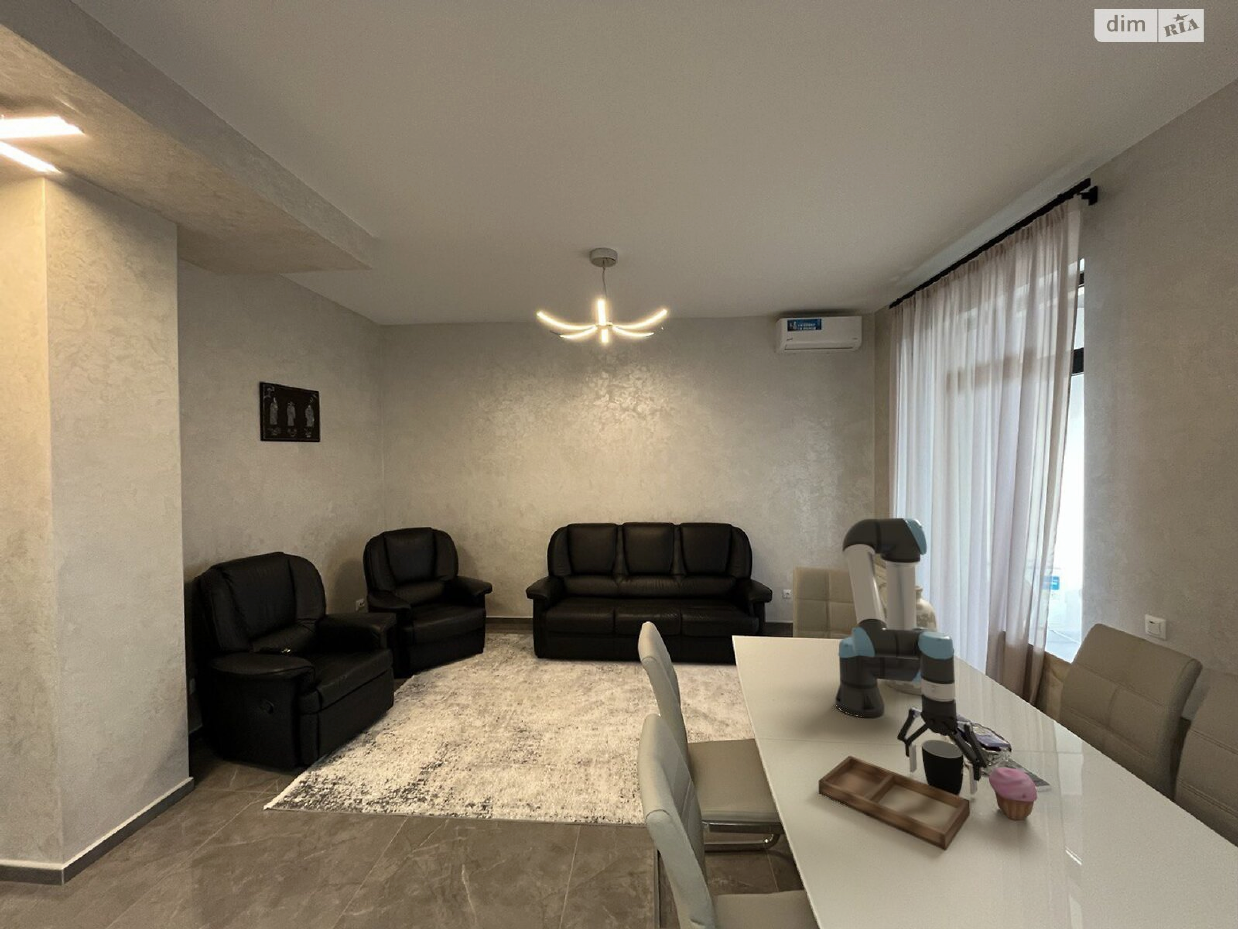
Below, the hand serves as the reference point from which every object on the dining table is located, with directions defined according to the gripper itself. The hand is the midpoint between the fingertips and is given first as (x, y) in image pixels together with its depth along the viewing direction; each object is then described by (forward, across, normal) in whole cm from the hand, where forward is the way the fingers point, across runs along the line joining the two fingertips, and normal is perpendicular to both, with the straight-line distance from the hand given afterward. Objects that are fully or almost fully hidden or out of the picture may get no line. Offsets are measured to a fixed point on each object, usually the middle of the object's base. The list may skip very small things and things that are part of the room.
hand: (942, 781), depth 133 cm
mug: (+1, 0, 0) cm, 1 cm away
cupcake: (+1, +15, -1) cm, 15 cm away
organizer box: (+1, -6, -16) cm, 18 cm away
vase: (+1, -29, +62) cm, 68 cm away
